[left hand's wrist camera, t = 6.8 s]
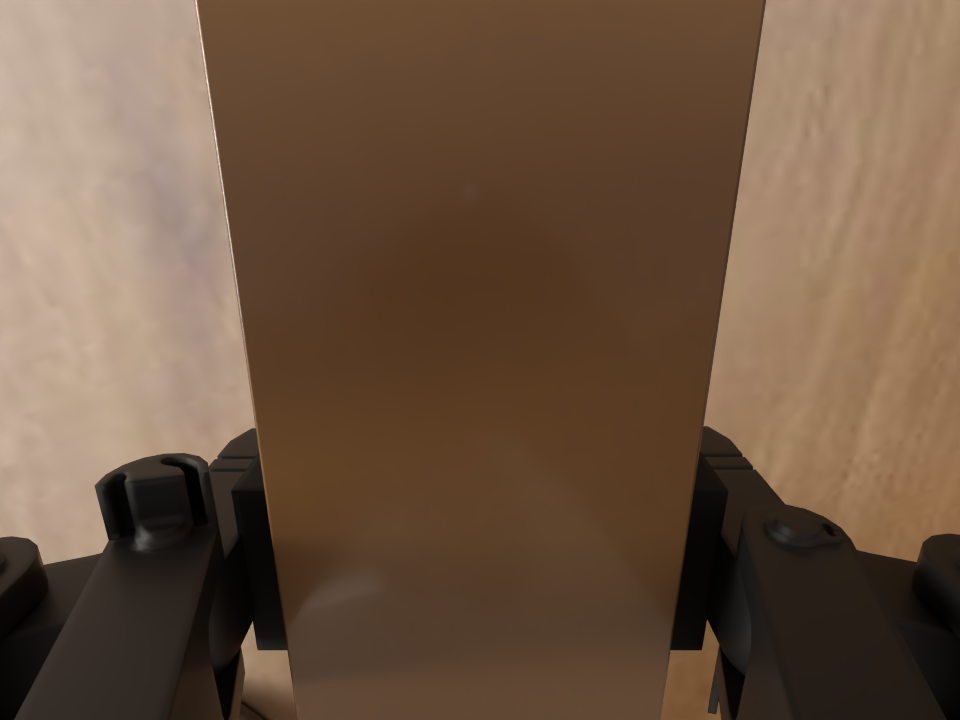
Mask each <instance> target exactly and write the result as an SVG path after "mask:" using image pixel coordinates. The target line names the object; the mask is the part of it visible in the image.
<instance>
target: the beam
mask: <svg viewBox="0 0 960 720" xmlns="http://www.w3.org/2000/svg"><path fill="white" fill-rule="evenodd" d="M765 4H766V0H195V7H196V14H197V21H198V28H199V35H200V42H201V49H202V56H203V63H204V70H205V76H206V83H207V90H208V97H209V104H210V111H211V118H212V125H213V132H214V139H215V146H216V153H217V160H218V167H219V174H220V181H221V188H222V195H223V202H224V209H225V216H226V223H227V230H228V237H229V244H230V251H231V258H232V265H233V272H234V279H235V286H236V293H237V300H238V307H239V314H240V321H241V328H242V335H243V342H244V349H245V356H246V363H247V370H248V377H249V384H250V391H251V398H252V405H253V412H254V419H255V426H256V433H257V440H258V447H259V454H260V461H261V468H262V475H263V482H264V489H265V496H266V503H267V510H268V517H269V524H270V531H271V538H272V545H273V552H274V559H275V566H276V573H277V580H278V587H279V594H280V601H281V608H282V615H283V622H284V629H285V636H286V643H287V650H288V657H289V664H290V671H291V677H292V684H293V691H294V698H295V705H296V712H297V719H298V720H660V717H661V710H662V704H663V697H664V690H665V683H666V676H667V670H668V663H669V656H670V649H671V642H672V636H673V629H674V622H675V615H676V608H677V602H678V595H679V588H680V581H681V574H682V568H683V561H684V554H685V547H686V540H687V534H688V527H689V520H690V513H691V506H692V500H693V493H694V486H695V479H696V473H697V466H698V459H699V452H700V445H701V439H702V432H703V425H704V418H705V411H706V405H707V398H708V391H709V384H710V377H711V371H712V364H713V357H714V350H715V343H716V337H717V330H718V323H719V316H720V309H721V303H722V296H723V289H724V282H725V275H726V269H727V262H728V255H729V248H730V241H731V235H732V228H733V221H734V214H735V208H736V201H737V194H738V187H739V180H740V174H741V167H742V160H743V153H744V146H745V140H746V133H747V126H748V119H749V112H750V106H751V99H752V92H753V85H754V78H755V72H756V65H757V58H758V51H759V44H760V38H761V31H762V24H763V17H764V10H765Z"/></svg>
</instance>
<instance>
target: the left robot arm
mask: <svg viewBox="0 0 960 720" xmlns="http://www.w3.org/2000/svg"><path fill="white" fill-rule="evenodd" d="M217 457H218V458H217V459H215V460H214V461H213V462H212V463H211V464H210V466H209V467H208V463H207V462H206V461H205V460H203V459H202V458H201V457H199V456H195V455H190V454H185V453H175V454H161V455H156V456H151V457H146V458H142V459H139V460H136V461H133V462H131V463H128V464H125V465H122V466H121V467H119V468H117V469H115V470H113V471H112V472H110V473H108V474H106V475H105V476H104V477H103V478H102V479H101V480H100V481H99V482H98V483H97V484H96V485H95V489H96V493H97V497H98V501H99V504H100V508H101V512H102V516H103V520H104V524H105V527H106V531H107V535H108V539H109V541H108V543H107V545H106V547H105V549H104V551H103V553H100V554H96V555H92V556H87V557H82V558H77V559H72V560H67V561H62V562H56V563H51V564H46V565H43V562H42V559H41V556H40V553H39V549H38V546H37V545H36V544H35V543H33V542H32V541H31V540H29V539H27V538H19V537H3V538H0V720H263V719H262V718H261V717H260V716H258V715H257V714H256V713H254V712H253V711H252V710H250V709H249V708H247V707H246V706H244V705H243V704H241V699H242V691H243V684H244V677H245V669H244V661H243V655H242V650H241V644H242V642H243V640H244V638H245V636H246V634H247V632H248V630H249V628H250V626H251V623H252V621H253V625H254V631H255V637H256V643H257V649H258V650H287V643H286V636H285V629H284V622H283V615H282V608H281V601H280V594H279V587H278V580H277V573H276V566H275V559H274V552H273V545H272V538H271V531H270V524H269V517H268V510H267V503H266V496H265V489H264V482H263V475H262V468H261V461H260V454H259V447H258V440H257V433H256V428H252V429H250V430H248V431H247V432H245V433H243V434H242V435H240V436H238V437H236V438H235V439H233V440H231V441H230V442H229V443H228V444H227V446H226V447H225V448H224V449H223V450H222V451H221V453H220V454H219V455H218V456H217ZM707 619H708V622H709V624H710V626H711V628H712V630H713V632H714V634H715V636H716V638H717V640H718V642H719V650H718V655H717V661H716V666H715V672H714V677H713V683H712V688H711V694H710V699H709V707H708V713H712V714H716V712H717V707H718V701H719V704H720V712H721V719H722V720H960V535H956V534H942V535H934V536H931V537H930V538H928V539H927V540H926V541H924V542H923V544H922V547H921V550H920V554H919V557H918V560H917V562H912V561H907V560H902V559H897V558H892V557H887V556H881V555H876V554H871V553H866V552H863V551H859V550H856V548H855V546H854V544H853V542H852V540H851V539H850V538H849V537H848V536H847V534H846V533H845V532H844V531H843V530H842V528H840V527H839V526H837V525H836V524H834V523H833V522H831V521H830V520H828V519H827V518H825V517H823V516H821V515H819V514H816V513H814V512H811V511H809V510H806V509H803V508H799V507H794V506H790V505H785V504H784V502H783V501H782V500H781V499H780V498H779V497H778V495H777V494H776V493H775V492H774V491H773V489H772V488H771V487H770V486H769V485H768V484H767V482H766V481H765V480H764V479H763V478H762V477H761V475H760V474H759V473H758V472H757V471H756V470H753V466H752V465H751V464H750V463H749V461H748V460H747V459H746V458H745V457H742V453H741V452H740V451H739V450H738V448H737V447H736V446H735V445H734V444H733V443H732V441H731V440H730V439H728V438H727V437H725V436H723V435H722V434H720V433H718V432H716V431H715V430H713V429H711V428H710V427H708V426H703V432H702V439H701V445H700V452H699V459H698V466H697V473H696V479H695V486H694V493H693V500H692V506H691V513H690V520H689V527H688V534H687V540H686V547H685V554H684V561H683V568H682V574H681V581H680V588H679V595H678V602H677V608H676V615H675V622H674V629H673V636H672V642H671V649H670V650H702V646H703V640H704V634H705V628H706V622H707Z"/></svg>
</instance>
